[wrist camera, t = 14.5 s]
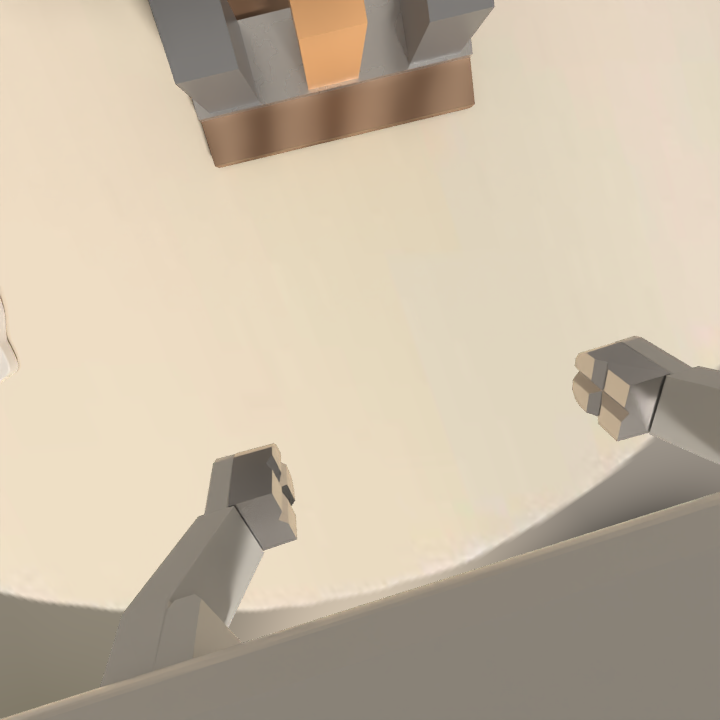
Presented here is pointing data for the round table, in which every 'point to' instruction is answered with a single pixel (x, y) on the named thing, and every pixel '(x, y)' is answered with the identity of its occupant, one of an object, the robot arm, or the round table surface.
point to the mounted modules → (229, 58)
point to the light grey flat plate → (284, 64)
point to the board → (335, 107)
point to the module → (329, 39)
